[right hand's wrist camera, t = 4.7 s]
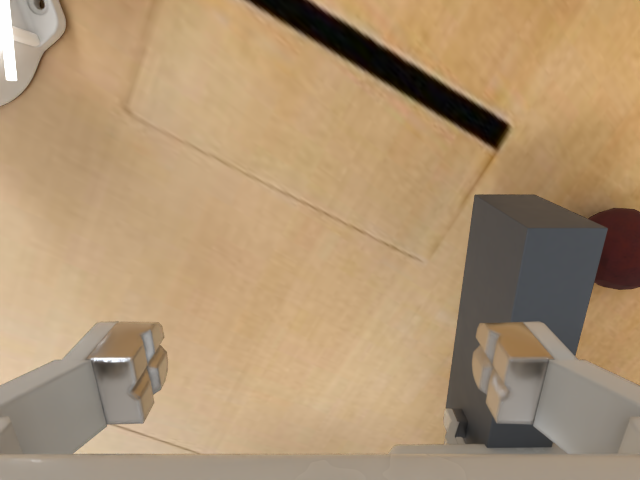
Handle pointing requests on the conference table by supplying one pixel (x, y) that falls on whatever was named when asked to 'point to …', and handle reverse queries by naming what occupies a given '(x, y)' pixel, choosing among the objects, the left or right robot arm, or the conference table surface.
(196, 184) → the conference table surface
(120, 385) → the right robot arm
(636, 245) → the potato
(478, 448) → the left robot arm
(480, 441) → the bar
